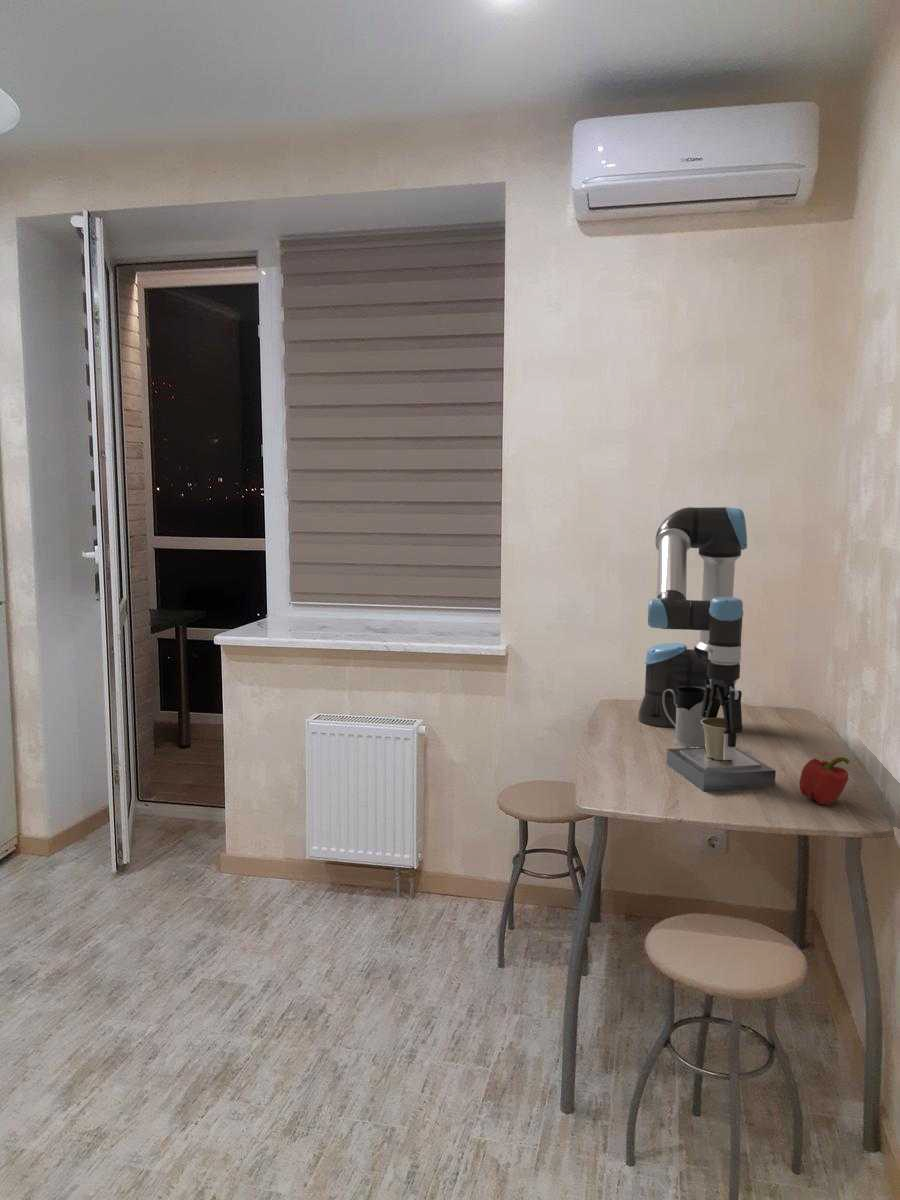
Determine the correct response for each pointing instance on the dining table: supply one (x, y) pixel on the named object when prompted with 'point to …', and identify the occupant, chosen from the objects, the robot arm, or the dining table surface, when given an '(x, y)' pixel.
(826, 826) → the dining table surface
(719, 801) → the dining table surface
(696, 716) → the grey pitcher
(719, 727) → the flower pot
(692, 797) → the dining table surface
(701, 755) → the gray square platform
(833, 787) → the vegetable
